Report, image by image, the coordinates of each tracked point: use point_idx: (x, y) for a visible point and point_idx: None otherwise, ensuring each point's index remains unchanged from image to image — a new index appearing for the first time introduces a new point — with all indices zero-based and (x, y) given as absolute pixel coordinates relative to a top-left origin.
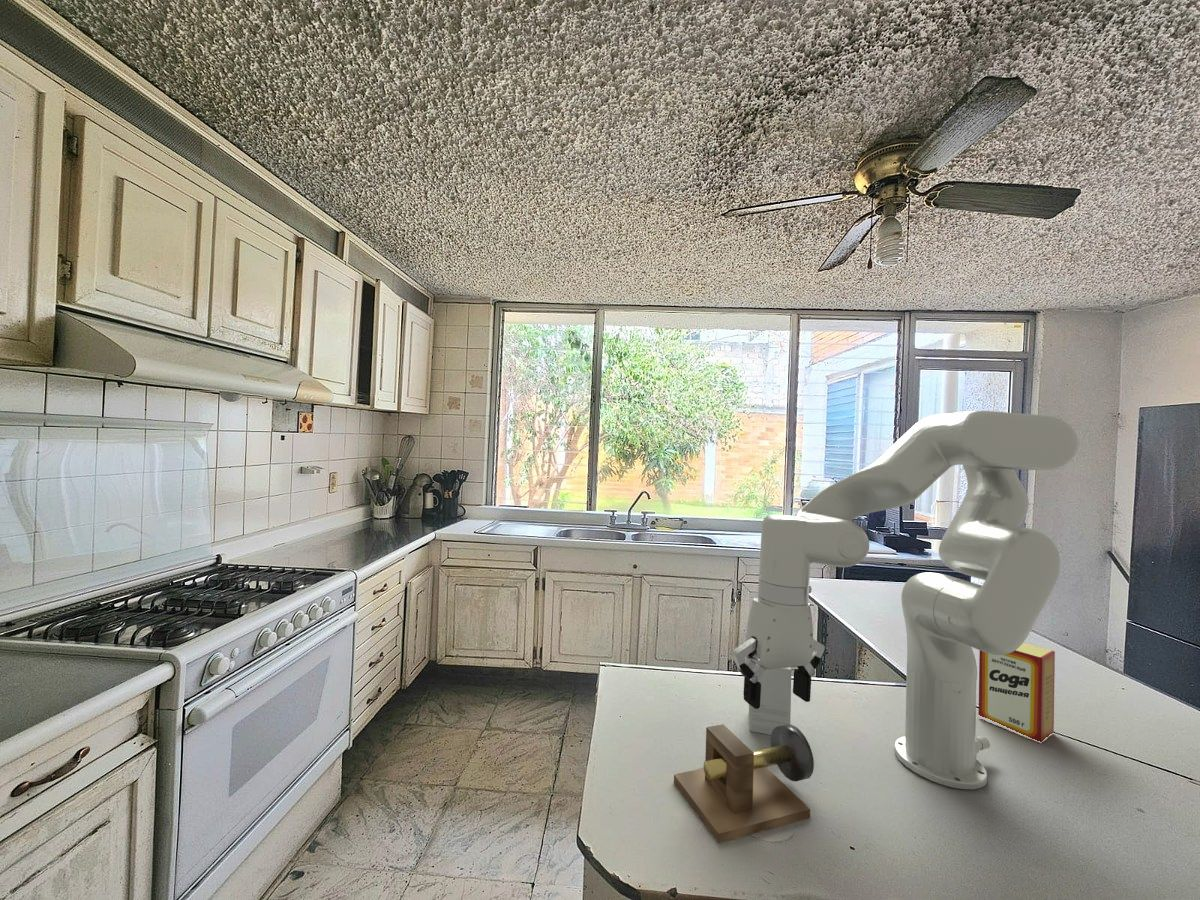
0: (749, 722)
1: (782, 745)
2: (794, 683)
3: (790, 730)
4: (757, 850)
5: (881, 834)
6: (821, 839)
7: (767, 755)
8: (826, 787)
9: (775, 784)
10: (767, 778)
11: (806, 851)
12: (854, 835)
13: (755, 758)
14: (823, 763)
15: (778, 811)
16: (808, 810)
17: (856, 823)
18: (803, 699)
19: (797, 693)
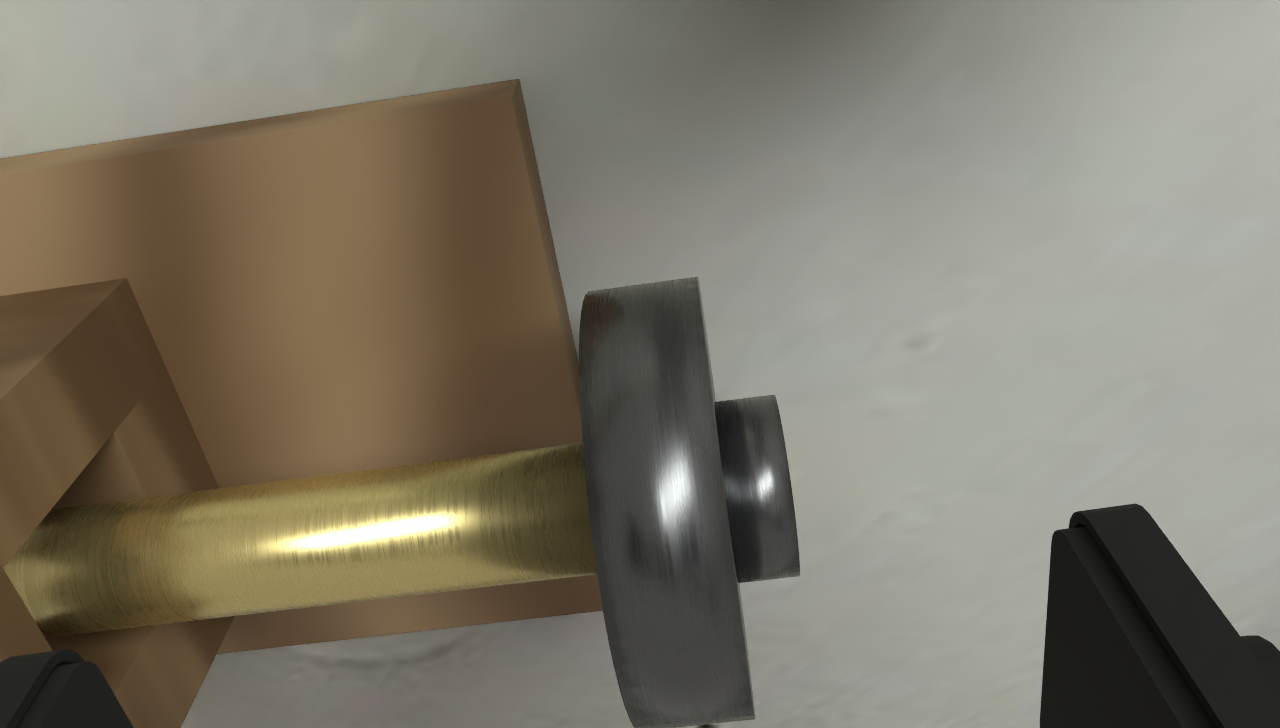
0: None
1: (581, 532)
2: (1137, 681)
3: (640, 678)
4: (229, 688)
5: (923, 692)
6: (589, 679)
7: (379, 596)
8: (918, 386)
9: (515, 413)
10: (486, 353)
11: (470, 718)
12: (778, 681)
13: (254, 613)
14: (1133, 149)
15: (413, 600)
16: None
17: (855, 629)
18: (1042, 717)
19: (1063, 639)
